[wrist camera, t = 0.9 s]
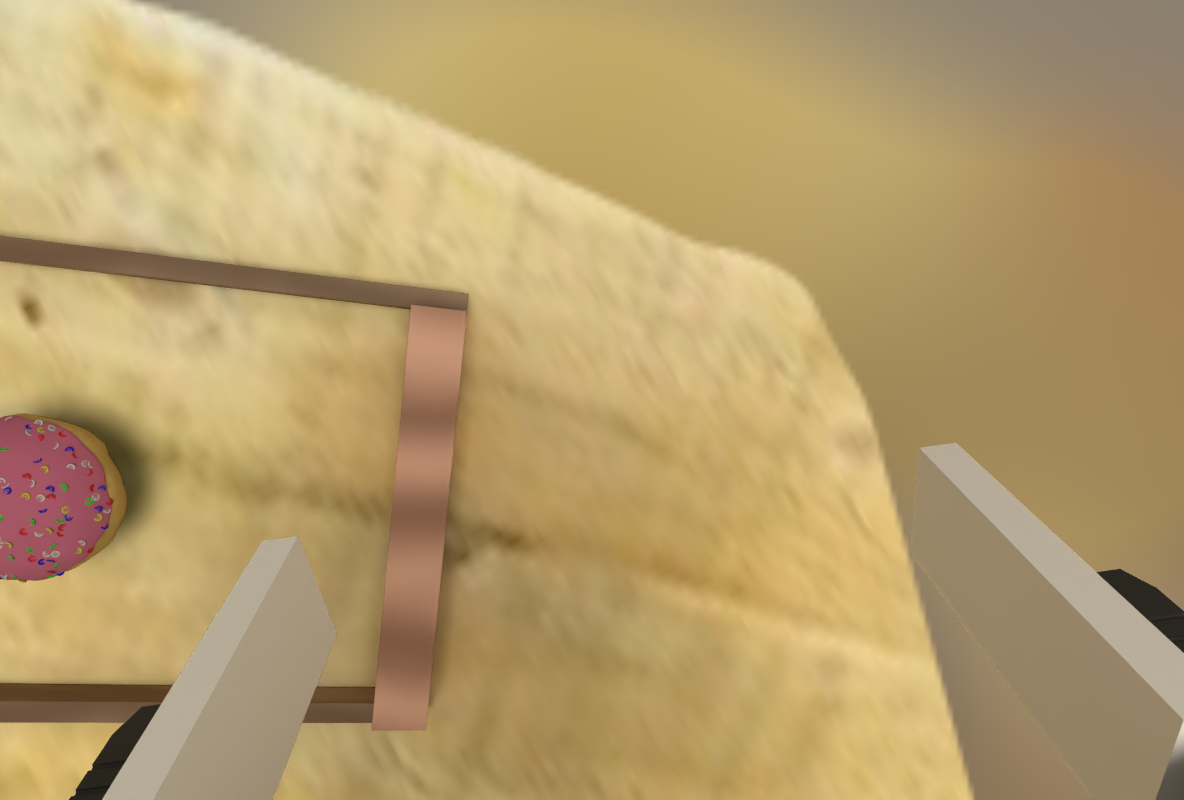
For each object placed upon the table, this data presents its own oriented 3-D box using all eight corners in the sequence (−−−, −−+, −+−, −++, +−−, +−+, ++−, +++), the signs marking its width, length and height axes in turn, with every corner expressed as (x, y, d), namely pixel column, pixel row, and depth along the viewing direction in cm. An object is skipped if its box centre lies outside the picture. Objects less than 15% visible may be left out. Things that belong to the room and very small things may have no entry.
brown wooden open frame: (427, 706, 44) (424, 750, 39) (-40, 703, 39) (-111, 754, 34) (467, 296, 43) (468, 289, 38) (-12, 237, 38) (-82, 220, 33)
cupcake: (0, 562, 39) (-197, 654, 27) (-22, 414, 38) (-235, 442, 26) (166, 543, 41) (47, 622, 29) (147, 401, 40) (18, 422, 28)
